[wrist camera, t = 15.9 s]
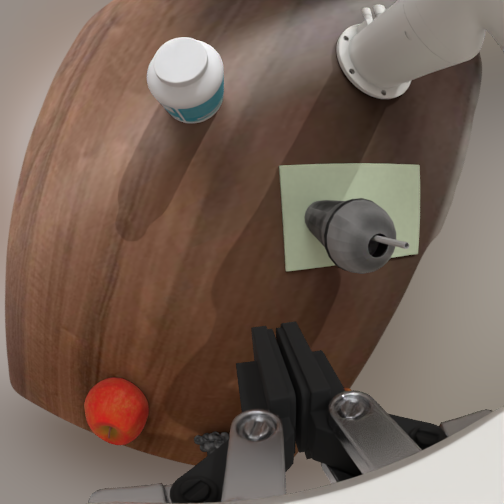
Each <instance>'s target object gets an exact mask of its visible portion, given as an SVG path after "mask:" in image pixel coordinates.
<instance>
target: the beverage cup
mask: <svg viewBox="0 0 504 504" xmlns="http://www.w3.org/2000/svg"><path fill="white" fill-rule="evenodd" d="M304 218H305V224H306V226H307V228H308V229H309V230H310V232H311V233H312V234H313V235H314V236H315V237H316V238H317V239H318V240H319V242H320V243H321V244H322V245H323V246H324V247H325V249H326V251H327V254H328V256H329V258H330V259H331V260H332V262H333V263H334V264H335V265H336V266H338V267H340V268H341V269H343V270H346V271H349V272H354V273H361V274H363V273H369V272H373V271H376V270H377V269H379V268H381V267H383V266H384V265H385V264H386V263H387V262H388V261H389V259H390V258H391V256H392V254H393V252H394V249H395V246H396V247H400V248H403V249H408V248H409V243H408V242H403V241H399V240H396V230H395V226H394V223H393V221H392V219H391V218H390V216H389V215H388V213H387V212H386V211H385V210H384V209H382V208H381V207H380V206H378V205H377V204H376V203H374V202H373V201H371V200H367V199H363V198H358V199H351V200H348V201H336V200H321V201H316V202H313V203H312V204H311V205H310V206H309V207H308V208H307V210H306V212H305V216H304Z"/></svg>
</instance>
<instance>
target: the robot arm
mask: <svg viewBox="0 0 504 504" xmlns="http://www.w3.org/2000/svg"><path fill="white" fill-rule="evenodd" d="M373 10H374V14H375V17H376V19H374V20H373V19H372V13H371V10H370V9H369V8H363V9H362V14H363V17H364V21H363V23H362V24H357V25H353V26H351V27H349V28H348V29H346V30H345V31H344V32H343V33H342V34H341V36H340V37H339V39H338V42H337V50H336V52H337V58H338V61H339V64H340V67H341V68H342V70H343V72H344V74H345V75H346V76H347V78H348V79H349V80H350V81H351V82H352V83H353V84H354V85H355V86H356V87H357V88H358V89H360V90H361V91H362V92H364V93H366V94H368V95H369V96H372V97H375V98H379V99H392V98H395V97H398V96H400V95H402V94H403V93H404V92H405V91H406V90H407V89H408V88H409V85H410V83H411V80H413V79H416V78H418V77H421V76H424V75H427V74H429V73H432V72H435V71H438V70H441V69H444V68H447V67H450V66H453V65H456V64H459V63H462V62H465V61H468V60H470V59H472V58H473V57H475V56H476V55H477V54H478V53H479V51H480V49H481V47H482V45H483V42H484V38H485V32H486V30H487V31H488V32H489V33H490V34H491V35H492V37H493V38H494V39H495V41H496V42H497V44H498V45H499V46H500V47H501V49H502V50H503V52H504V0H398V1H397V2H395V3H394V4H393V5H392V6H390V7H389V8H388V9H387V10H385V7H384V6H383V5H374V6H373ZM252 340H253V350H254V360H255V361H252V362H244V363H236V368H237V376H238V384H239V393H240V400H241V408H242V413H241V414H239V415H238V416H236V418H235V419H234V420H233V421H232V424H231V428H230V436H229V439H228V440H227V441H225V442H224V443H223V444H222V445H221V446H219V447H218V448H217V449H216V450H215V451H213V452H212V453H211V454H210V455H208V456H207V457H206V458H205V459H203V460H202V461H201V462H200V463H198V464H197V465H196V466H195V467H193V468H192V469H191V470H189V471H188V472H187V473H185V474H184V475H183V476H181V477H180V478H178V479H177V480H176V481H175V483H173V484H171V485H165V486H163V484H162V483H159V484H151V485H144V486H134V487H123V488H105V489H101V490H97V491H96V492H94V493H93V494H92V495H91V496H90V498H89V501H88V504H504V406H502V407H500V408H498V409H496V410H494V411H492V410H487V409H486V410H481V411H478V412H475V413H472V414H469V415H465V416H463V417H459V418H456V419H452V420H449V421H445V422H441V424H440V426H437V425H434V424H431V423H427V422H422V421H417V420H413V419H408V418H404V417H399V416H395V415H391V414H387V413H386V412H385V410H384V409H383V408H382V407H381V406H380V405H379V404H378V403H377V402H376V401H375V400H374V399H373V398H372V397H371V396H370V395H368V394H366V393H363V392H360V391H345V389H344V387H343V386H342V384H341V382H340V380H339V379H338V377H337V375H336V373H335V372H334V370H333V368H332V367H331V365H330V363H329V361H328V360H327V358H326V356H325V354H324V353H323V352H322V351H321V350H320V351H315V352H312V351H311V349H310V348H309V346H308V344H307V342H306V340H305V338H304V336H303V334H302V332H301V330H300V328H299V327H298V325H297V323H296V322H289V323H282V324H281V328H276V338H275V335H274V332H273V330H272V329H267V327H266V326H261V327H253V328H252ZM295 441H296V444H297V448H298V451H299V452H305V455H306V458H307V459H310V458H312V459H313V460H316V461H319V462H321V466H322V469H323V471H324V472H325V474H326V476H327V477H328V479H329V480H330V482H331V484H330V485H326V486H322V487H318V488H314V489H309V490H305V491H300V492H295V493H290V494H286V478H285V472H286V471H287V470H288V469H289V468H290V467H291V465H292V464H293V460H294V454H295Z"/></svg>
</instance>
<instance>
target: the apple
mask: <svg viewBox="0 0 504 504" xmlns="http://www.w3.org/2000/svg"><path fill="white" fill-rule="evenodd" d="M84 407H85V415H86V419H87V423H88V425H89V427H90V428H91V429H92V431H93V432H94V433H95V435H97V436H98V437H100V438H101V439H103V440H104V441H106V442H108V443H111V444H115V445H126V444H128V443H129V442H131V441H133V440H134V439H136V438H137V437H138V435H139V434H140V433H141V431H142V430H143V428H144V426H145V423H146V420H147V417H148V414H149V406H148V401H147V399H146V397H145V395H144V394H143V393H142V391H141V390H140V389H139V388H138V387H137V386H135V385H134V384H133V383H132V382H130V381H127V380H125V379H123V378H115V377H111V378H107V379H105V380H102V381H100V382H99V383H97V384H96V385H95V386H94V387H93V388H91V390H90V391H89V393H88V395H87V397H86V399H85V403H84Z"/></svg>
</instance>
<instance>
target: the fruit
mask: <svg viewBox="0 0 504 504" xmlns="http://www.w3.org/2000/svg"><path fill="white" fill-rule="evenodd" d="M228 439H229V434H228V433H226V432H222V433H221V434H219V433H218V432H213V433H210V434H209V433H205V434H204V435H203V436H199V435H197V436H195V438H194V441H195V443H196V444H199V445H200V450H201V451H203V452H207V455H210V454H211V453H212V452H213V451H215V450H216V449H217V448H218V447H219V446H221V445H222V444H223V443H224V442H225V441H227V440H228Z"/></svg>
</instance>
